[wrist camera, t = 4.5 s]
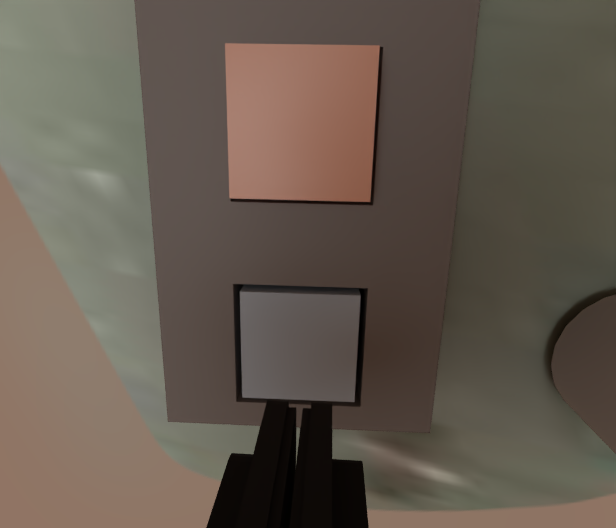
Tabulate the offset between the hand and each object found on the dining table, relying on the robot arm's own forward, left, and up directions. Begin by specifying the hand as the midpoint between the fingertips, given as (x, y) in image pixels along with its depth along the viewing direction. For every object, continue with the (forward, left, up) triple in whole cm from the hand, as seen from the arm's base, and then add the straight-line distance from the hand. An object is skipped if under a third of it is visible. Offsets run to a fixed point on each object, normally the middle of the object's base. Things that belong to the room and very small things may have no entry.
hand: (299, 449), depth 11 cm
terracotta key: (-8, 0, -10) cm, 13 cm away
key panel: (-8, 0, -12) cm, 15 cm away
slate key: (+1, 0, -11) cm, 11 cm away
